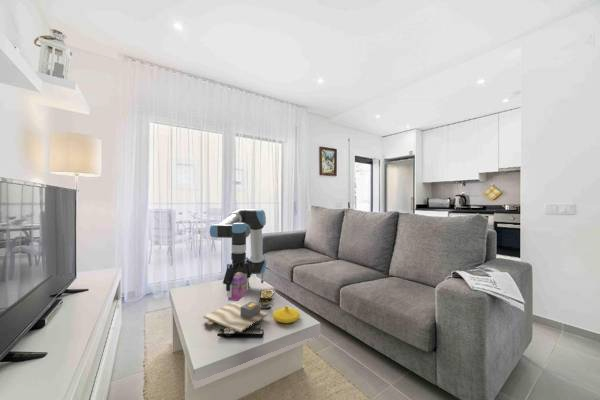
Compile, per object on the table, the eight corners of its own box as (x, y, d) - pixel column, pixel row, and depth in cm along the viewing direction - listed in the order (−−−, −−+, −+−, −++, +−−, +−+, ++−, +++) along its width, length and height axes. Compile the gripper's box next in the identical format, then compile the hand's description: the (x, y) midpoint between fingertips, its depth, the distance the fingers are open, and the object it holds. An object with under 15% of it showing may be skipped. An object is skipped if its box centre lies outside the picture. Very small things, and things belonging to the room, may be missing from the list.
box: (238, 301, 124) (238, 278, 124) (227, 300, 126) (228, 277, 126) (246, 294, 135) (247, 272, 135) (237, 293, 136) (237, 271, 136)
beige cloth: (232, 307, 156) (232, 302, 156) (267, 319, 142) (267, 313, 142) (198, 324, 134) (198, 318, 134) (236, 340, 120) (236, 333, 120)
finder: (250, 309, 146) (250, 300, 146) (260, 312, 142) (260, 303, 143) (240, 315, 138) (240, 306, 138) (250, 318, 135) (250, 309, 135)
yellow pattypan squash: (297, 312, 151) (297, 301, 151) (302, 325, 136) (302, 312, 136) (271, 314, 149) (272, 302, 149) (273, 327, 133) (273, 314, 133)
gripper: (248, 247, 142) (247, 285, 142) (215, 255, 122) (214, 299, 122) (258, 249, 138) (257, 287, 138) (226, 257, 118) (225, 302, 118)
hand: (237, 293), depth 130 cm, fingers closed on box, 11 cm apart
